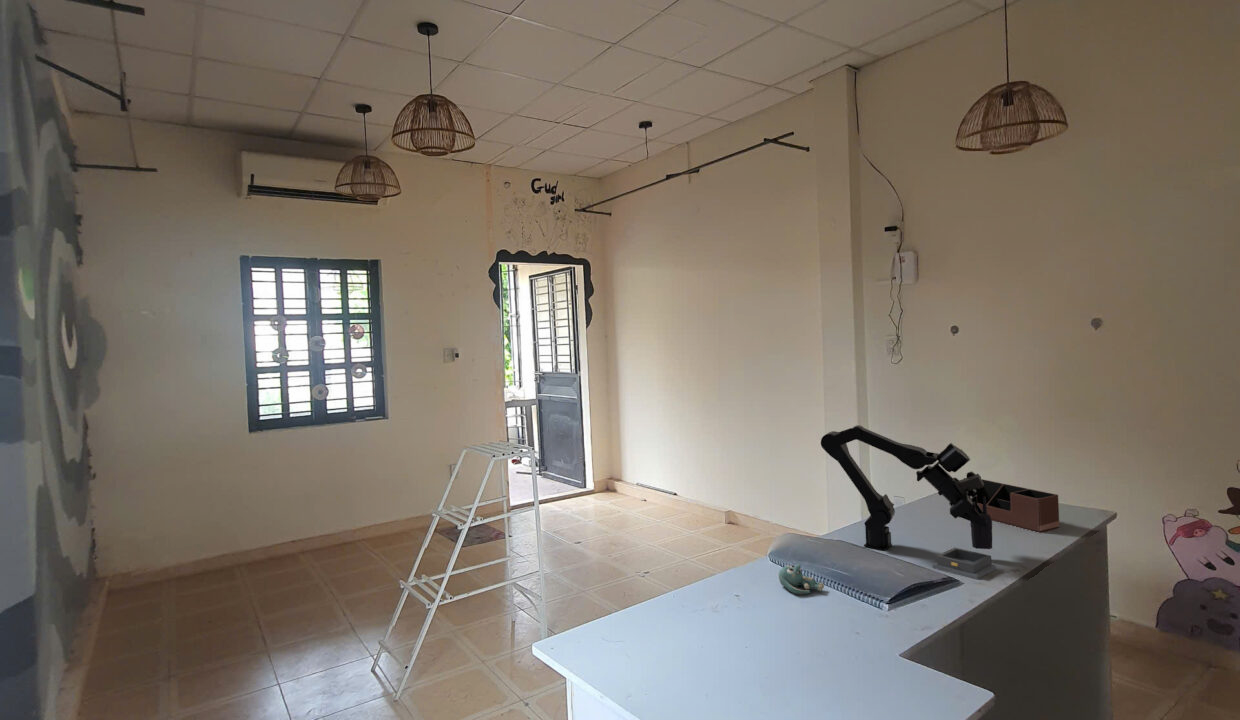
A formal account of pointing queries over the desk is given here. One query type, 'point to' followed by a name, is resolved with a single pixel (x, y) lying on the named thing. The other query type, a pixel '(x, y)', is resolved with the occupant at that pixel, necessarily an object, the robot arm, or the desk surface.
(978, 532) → the two-way radio
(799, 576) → the stuffed animal
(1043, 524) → the desk organizer
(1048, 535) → the desk surface
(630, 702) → the desk surface
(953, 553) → the charging cradle
